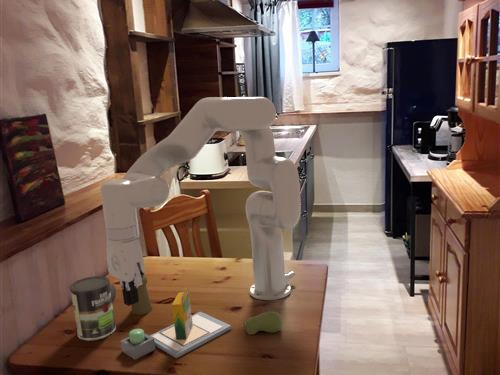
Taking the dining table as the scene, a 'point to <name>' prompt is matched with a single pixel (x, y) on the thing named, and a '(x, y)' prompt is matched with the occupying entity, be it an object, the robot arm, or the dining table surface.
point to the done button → (136, 336)
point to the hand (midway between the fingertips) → (131, 303)
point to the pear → (264, 323)
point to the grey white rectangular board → (190, 335)
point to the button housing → (138, 347)
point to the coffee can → (93, 308)
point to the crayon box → (182, 315)
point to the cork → (142, 299)
